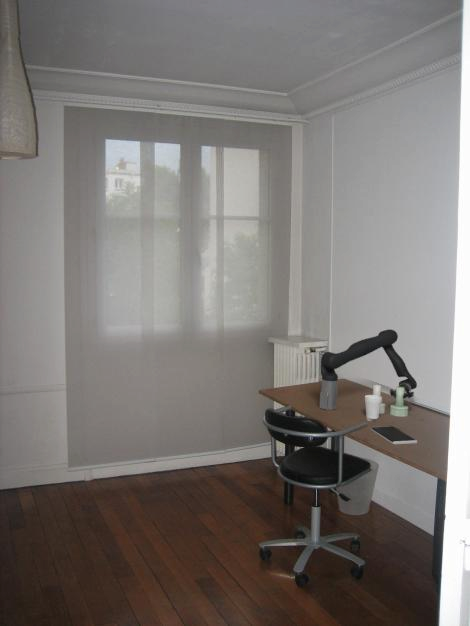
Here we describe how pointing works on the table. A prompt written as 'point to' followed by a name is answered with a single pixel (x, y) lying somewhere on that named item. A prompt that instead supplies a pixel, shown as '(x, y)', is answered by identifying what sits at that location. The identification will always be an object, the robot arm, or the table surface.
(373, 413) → the foam cup
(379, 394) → the white joystick
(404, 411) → the pale green pedestal post
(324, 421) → the table surface
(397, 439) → the smartphone
